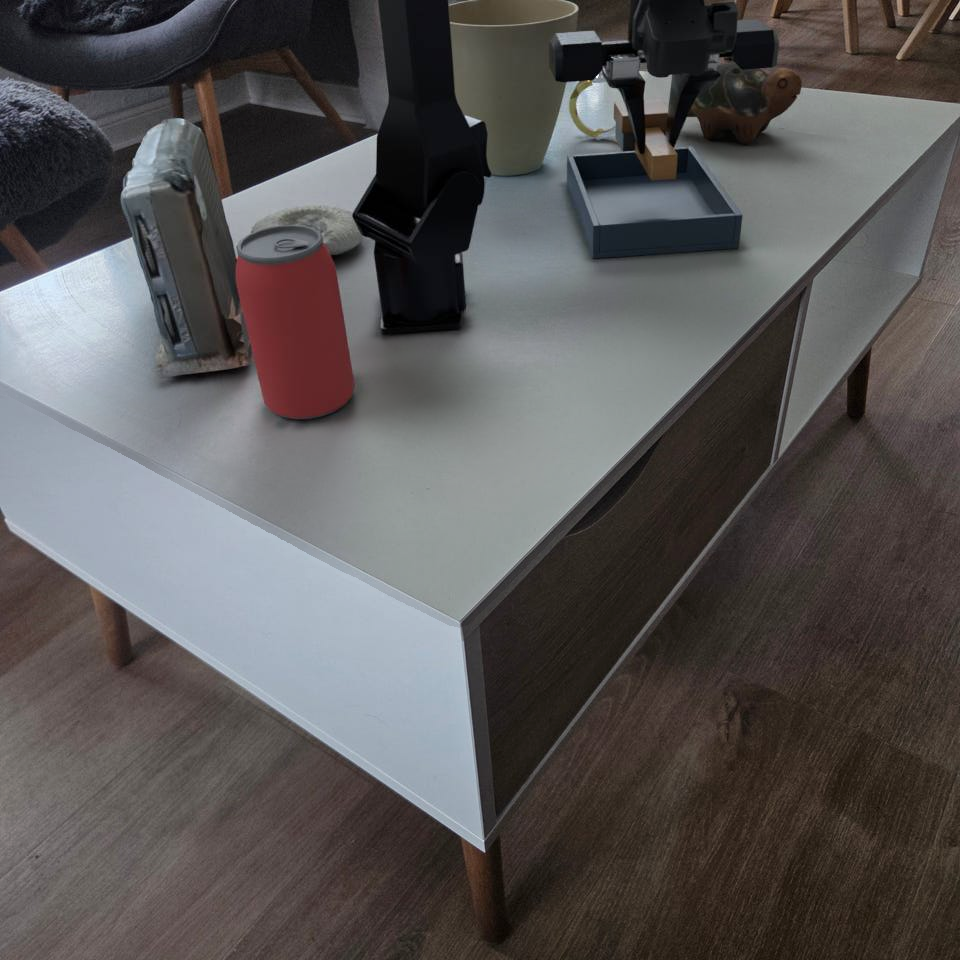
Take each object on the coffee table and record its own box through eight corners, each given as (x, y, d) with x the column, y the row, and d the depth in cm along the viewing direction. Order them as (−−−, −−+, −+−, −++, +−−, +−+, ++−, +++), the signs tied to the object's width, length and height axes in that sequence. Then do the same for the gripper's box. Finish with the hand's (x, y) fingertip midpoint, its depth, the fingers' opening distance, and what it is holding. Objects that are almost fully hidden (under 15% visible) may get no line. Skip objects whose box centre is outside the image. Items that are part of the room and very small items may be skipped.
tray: (592, 259, 83) (593, 225, 81) (566, 184, 98) (566, 155, 97) (738, 248, 83) (742, 215, 81) (690, 175, 99) (692, 146, 97)
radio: (186, 260, 88) (142, 97, 79) (277, 252, 88) (244, 88, 79) (134, 388, 70) (69, 193, 60) (249, 377, 70) (202, 182, 61)
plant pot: (540, 196, 96) (537, 29, 87) (420, 178, 102) (405, 21, 93) (599, 152, 106) (602, -2, 97) (486, 138, 113) (479, -8, 103)
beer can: (339, 427, 64) (310, 264, 56) (250, 420, 65) (210, 260, 58) (367, 377, 69) (343, 222, 62) (284, 372, 70) (251, 220, 63)
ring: (631, 136, 110) (634, 64, 105) (624, 144, 108) (627, 71, 103) (574, 133, 112) (574, 62, 107) (567, 141, 110) (567, 69, 105)
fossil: (279, 240, 80) (220, 226, 87) (290, 281, 82) (232, 264, 89) (378, 200, 86) (316, 190, 93) (386, 239, 88) (325, 226, 95)
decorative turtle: (788, 154, 102) (792, 78, 97) (656, 149, 109) (654, 78, 104) (808, 123, 108) (814, 51, 103) (683, 121, 115) (682, 53, 110)
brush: (690, 178, 82) (693, 139, 80) (636, 182, 82) (638, 142, 80) (660, 133, 92) (663, 98, 90) (612, 137, 92) (613, 101, 90)
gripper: (563, -18, 68) (563, 190, 78) (814, -35, 69) (784, 174, 78) (547, -41, 77) (549, 148, 87) (769, -57, 77) (747, 134, 87)
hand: (655, 151), depth 84 cm, fingers closed on brush, 2 cm apart
